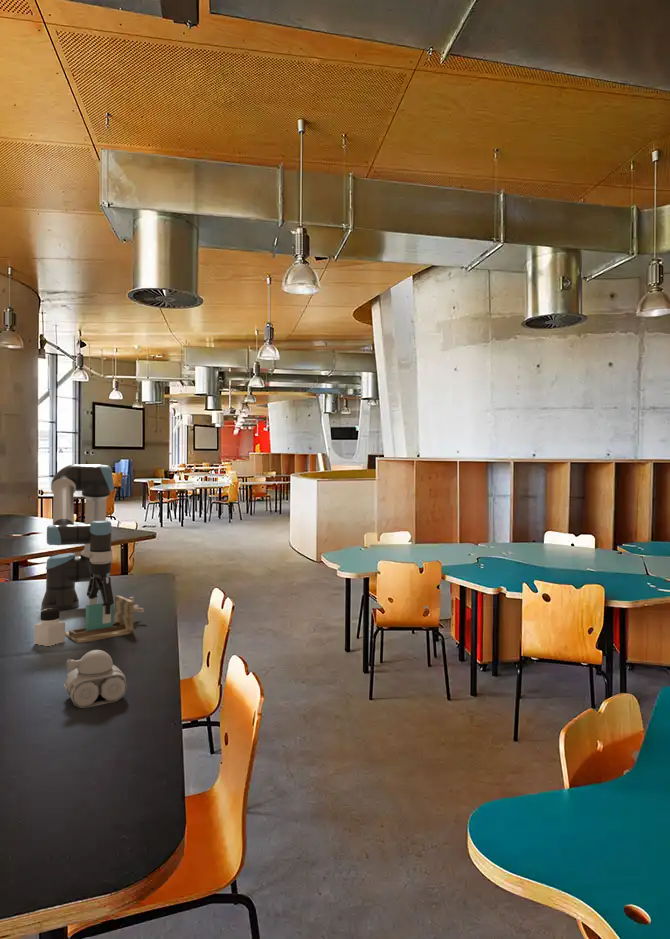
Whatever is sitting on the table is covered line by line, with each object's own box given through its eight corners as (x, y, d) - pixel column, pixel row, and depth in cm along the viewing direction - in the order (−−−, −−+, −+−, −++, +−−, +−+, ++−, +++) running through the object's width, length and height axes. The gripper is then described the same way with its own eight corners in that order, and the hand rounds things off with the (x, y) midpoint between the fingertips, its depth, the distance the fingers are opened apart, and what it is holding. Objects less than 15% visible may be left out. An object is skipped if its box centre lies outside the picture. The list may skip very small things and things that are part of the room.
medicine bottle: (65, 642, 206) (65, 608, 206) (47, 647, 200) (48, 612, 200) (51, 639, 209) (51, 606, 209) (33, 644, 203) (34, 610, 203)
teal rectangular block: (85, 632, 215) (85, 605, 215) (109, 628, 221) (110, 602, 221) (88, 634, 213) (88, 607, 213) (112, 630, 219) (113, 603, 219)
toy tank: (68, 712, 147) (68, 661, 147) (60, 698, 156) (61, 650, 156) (128, 699, 156) (129, 651, 156) (118, 687, 164) (119, 641, 165)
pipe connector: (148, 619, 239) (148, 595, 239) (137, 625, 229) (137, 600, 229) (124, 618, 240) (125, 594, 240) (113, 624, 230) (113, 599, 230)
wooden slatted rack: (65, 634, 215) (65, 602, 215) (118, 625, 229) (118, 595, 229) (78, 643, 205) (78, 609, 205) (133, 633, 218) (133, 601, 218)
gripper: (78, 559, 223) (77, 614, 223) (103, 567, 205) (102, 627, 205) (97, 557, 229) (97, 611, 228) (123, 565, 210) (123, 624, 210)
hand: (99, 619), depth 217 cm, fingers open, 13 cm apart
